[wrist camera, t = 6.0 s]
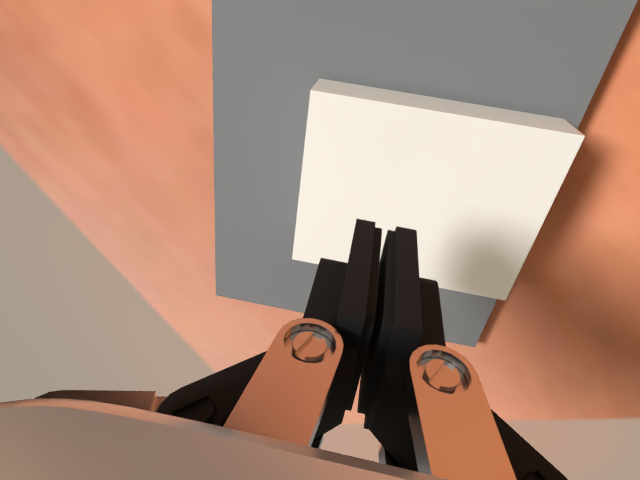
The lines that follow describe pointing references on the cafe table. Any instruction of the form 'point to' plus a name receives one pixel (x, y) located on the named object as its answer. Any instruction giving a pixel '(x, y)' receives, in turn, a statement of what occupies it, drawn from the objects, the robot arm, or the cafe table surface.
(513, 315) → the cafe table surface
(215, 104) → the mat
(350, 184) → the tile
